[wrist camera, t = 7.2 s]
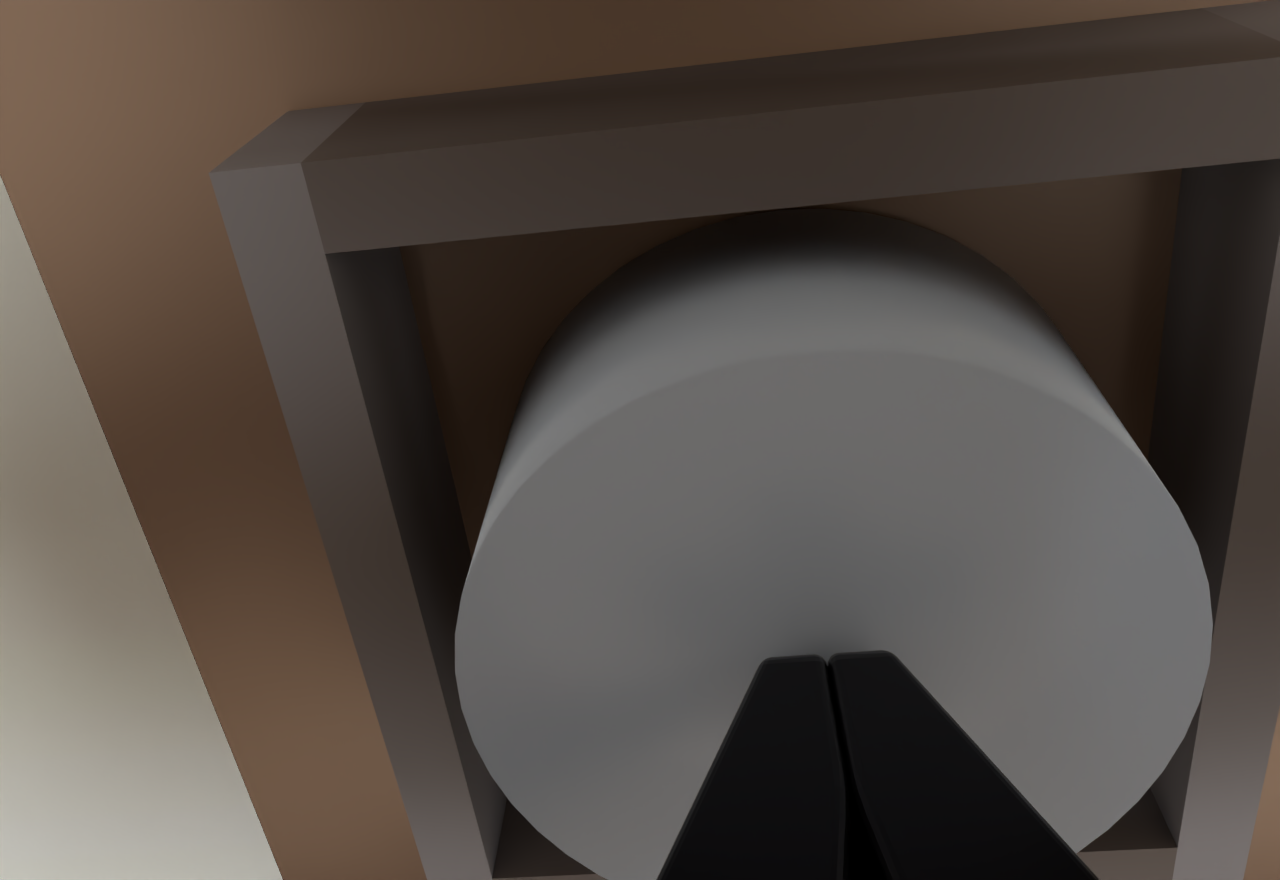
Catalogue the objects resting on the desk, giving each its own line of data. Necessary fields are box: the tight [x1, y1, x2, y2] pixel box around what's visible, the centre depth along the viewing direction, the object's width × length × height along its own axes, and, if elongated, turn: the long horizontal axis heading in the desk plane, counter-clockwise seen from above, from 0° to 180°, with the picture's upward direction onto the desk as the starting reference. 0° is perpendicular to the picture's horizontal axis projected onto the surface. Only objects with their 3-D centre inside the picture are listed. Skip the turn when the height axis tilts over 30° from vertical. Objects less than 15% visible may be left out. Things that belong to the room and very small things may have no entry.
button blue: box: [455, 209, 1213, 880], centre depth 9 cm, size 5×5×2 cm
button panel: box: [0, 0, 1280, 880], centre depth 10 cm, size 28×12×4 cm, turn 7°
